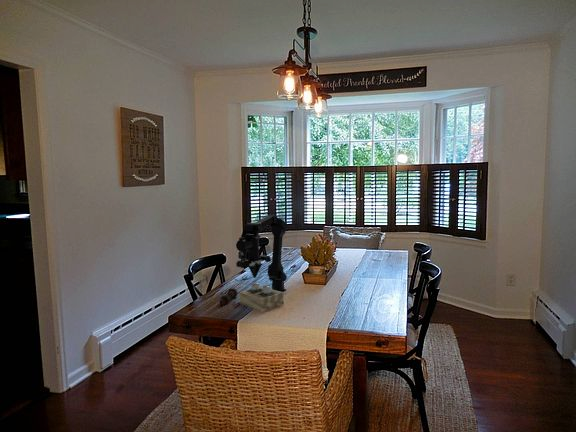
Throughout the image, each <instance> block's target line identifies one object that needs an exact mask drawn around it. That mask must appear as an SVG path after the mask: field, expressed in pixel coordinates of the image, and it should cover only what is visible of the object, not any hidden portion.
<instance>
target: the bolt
mask: <svg viewBox="0 0 576 432" xmlns="http://www.w3.org/2000/svg"><path fill="white" fill-rule="evenodd" d="M238 294H239V292H238V290H237V289H236V288H234V287H232V288H231V287H230V288H228V290H227V293H226V294H223V295H222V296H221V298H220V300H219V305H221V306H224V305H225V304H226V305H227V304H229V303H230V301H231V299H236V298H237V296H238Z"/></svg>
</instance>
